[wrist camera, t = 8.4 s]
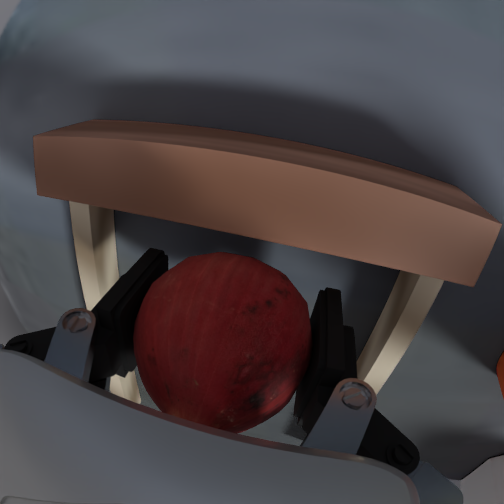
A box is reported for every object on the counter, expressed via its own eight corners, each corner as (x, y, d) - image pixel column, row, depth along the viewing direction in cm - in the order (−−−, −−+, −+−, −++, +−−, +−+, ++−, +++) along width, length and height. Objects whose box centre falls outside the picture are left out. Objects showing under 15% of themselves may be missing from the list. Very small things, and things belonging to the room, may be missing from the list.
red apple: (302, 204, 11) (275, 388, 4) (322, 325, 14) (311, 496, 7) (163, 228, 13) (41, 365, 6) (205, 332, 15) (143, 473, 8)
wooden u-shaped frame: (93, 119, 12) (33, 136, 9) (456, 186, 11) (502, 224, 7) (128, 396, 23) (109, 432, 19) (320, 444, 21) (317, 486, 18)
